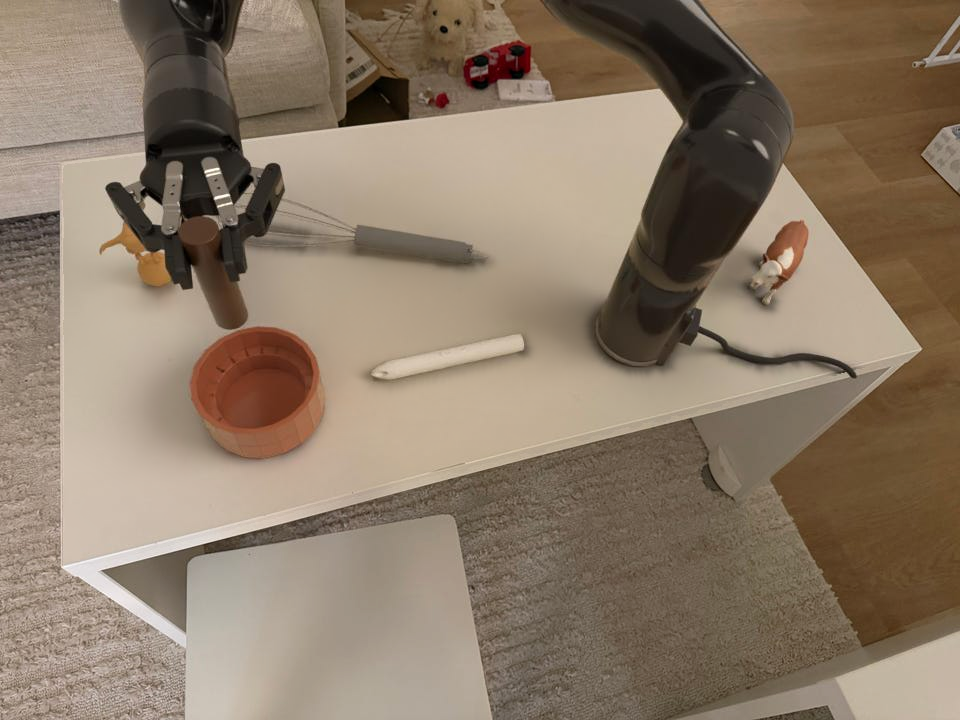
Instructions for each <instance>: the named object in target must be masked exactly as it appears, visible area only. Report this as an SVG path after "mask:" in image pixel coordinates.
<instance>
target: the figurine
mask: <svg viewBox="0 0 960 720" xmlns="http://www.w3.org/2000/svg"><path fill="white" fill-rule="evenodd" d="M116 245H121V246H123V247H125V250H126V252H127V253H128V254H130V255H134V258H135V260H136V261H138V262H137V267H136V269H137V270H136V271H137V274H138V276H139V277H140V279H141V280H142V281H143V282H144V283H145V284H147V285H149V286H153V287H161V286H165V285H167V284H169V283H170V282H171V281H172V280H171V278H170V276H169V274H168V272H167V270H166V267H165V253H164V252H160V251H158V252H154V253H152V252H148V251H147V250H146V249H145V247H144V246H143V245H142V244H141V242H140V241H139V240H138V238H137V237H136V236H135V235H134V233H133V232H132V231H131V230H130V228H129V227H128V226H127V224H126V223H125V222H124V221H123V222H122V229H121V232H120V233H119V234H118V235H117V236H115V237H113V238H112V239H109V240H108V241H106V242H104V243H103V244H101V246H100V247H99V249H98V252H99V255H100V256H102V255H103V254H104V252H105V251H106V249H108V248H112V247H113V246H116ZM144 252H147V253H145V254H143V255H142V253H144Z"/></svg>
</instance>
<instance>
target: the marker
mask: <svg viewBox="0 0 960 720" xmlns="http://www.w3.org/2000/svg"><path fill="white" fill-rule="evenodd" d="M524 350H525V341H524V338H523V335H522V334H521V333H515V334H510V335H505V336H501V337H496V338H490V339H486V340H482V341H478V342H477V341H476V342H473V343H468V344H463V345H459V346H452V347H450V348H444V349H438V350H435V351H429V352H425V353H420V354H416V355H411V356H407V357H402V358H397V359H392V360H387V361H385V362H383V363H381V364H379V365H378V366H377V367H375V368H374V369H373V370H372V372H371V373H370V376H373V377H374V378H378V379H381V380H396V379H399V378H400V379H401V378H405V377H409V376H414V375H418V374H422V373H423V374H424V373H428V372H431V371H436V370H441V369H445V368H446V369H447V368H450V367H456V366H459V365H463V364H469V363H473V362H477V361H481V360H482V361H483V360H486V359H491V358H495V357H500V356H505V355H509V354H513V353H519V352H522V351H524Z"/></svg>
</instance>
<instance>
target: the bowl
mask: <svg viewBox="0 0 960 720" xmlns="http://www.w3.org/2000/svg"><path fill="white" fill-rule="evenodd" d="M322 382H323V381H322V377H321V373H320V369H319V363H318V360H317V357H316V354H315V353H314V352H313V350H312V349H311V347H310V346H309V344H308V343H307V342H305V341H304V340H303V339H301V338H300V337H299V336H298V335H296V334H294V333H293V332H290V331H287V330H284V329H282V328H279V327H275V326H274V327H273V326H260V325H259V326H252V327H247V328H241V329H238V330H237V329H236V330H235V331H233V332H230V333H228V334H226V335H224V336H222V337H220V338H218V339H217V340H215V342H213V343H212V344H211V345H210V346H208V347H207V348H206V349H205V350H204V351H203V353H202V354H201V356H200V357H199V358H198V360H197V361H196V363H195V365H194V366H193V369H192V373H191V378H190V381H189V389H190V390H189V392H190V398H191V402H192V404H193V406H194V407H195V409H196V411H197V413H198V415H199V417H200V418H201V420H202V421H203V423H204V425H205V427H206V429H207V430H208V432H209V433H210V435H211V437H212V439H213V440H214V442H216V443H218V444H219V446H221V447H222V448H223V449H225V450H226V451H227V452H230V453H233V454H235V455H239V456H241V457H245V458H258V459H265V458H270V457H274V456H278V455H283V454H286V453H287V452H289V451H291V450H293V449H295V448H296V447H298V446H300V445H301V444H303V443H304V442H305V441H306V440H307V439H308V438H309V437H311V435H312V434H313V433H314V432H315V431H316V429H317V427H318V425H319V423H320V422H321V419H322V418H323V415H324V410H325V404H326V396H325V392H324V387H323V383H322Z"/></svg>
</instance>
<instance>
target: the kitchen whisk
mask: <svg viewBox="0 0 960 720" xmlns="http://www.w3.org/2000/svg"><path fill="white" fill-rule="evenodd" d="M252 194H253V192H244V194H243V195H252ZM281 202H286V203H289V204H291V205H294V206H297V207H301V208H303V209H305V210H308V211H310V212H313V213H317V214H319V215H321V216H323V217H325V218H327V219H328V218H329V219H330V220H332V221H334V222H337V223H339V224H342V225H344V226H346V227H348V228H350V229H348V228H345V227H343V226H339V225H337V224H336V225H335V224H332V223H329V222H325V221H323V220H319V219H315V218H312V217H308V216H304V215H300V214H295V213H291V212H288V211H284V210H280V209H279V210H278V209H277V210H276V213H275V215H279V216H283V217H287V218H293V219H297V220H301V221H305V222H309V223H313V224H316V225H321V226H325V227H328V228H333V229H337V230H339V231H340V230H341V231H344V232H349V233H351V234H354V235H339V234H323V233H311V232H302V231H292V230H283V229H275V228H270V227H269V229H268V230H270V231H267V233H266V234H274V235H285V236H297V237H312V238H313V237H314V238H335V239H336V238H339V239H348V240H342V241H332V242H321V243H300V244H299V243H298V244H291V243H290V244H288V243H287V244H286V243H269V242H262V241H258V240H257V241H256V240H252V239H249V238H247V239H246V240H245V242H244V244H251V245H256V246H262V247H263V246H264V247H278V248H281V247H282V248H284V247H286V248H287V247H289V248H290V247H291V248H293V247H294V248H295V247H297V248H298V247H313V246H325V245H335V244H342V243H351V242H353V245H354V246H355V247H360V248H367V249H373V250H379V251H385V252H391V253H396V254H404V255H408V256H409V255H410V256H415V257H421V258H427V259H434V260H439V261H445V262H452V263H459V264H463V263H466V264H471V262H472V259H478V260H485V259H489V255H488V254H487V253H485V252H482V251H478V250H474V244H470V243H469V244H468V243H467V242H466V241H460V240H455V239H447V238H441V237H437V236H436V237H435V236H430V235H423V234H418V233H417V234H416V233H411V232H405V231H401V230H394V229H389V228H381V227H376V226H369V225H363V224H358V223H357V224H356V225H355V227H353V226H351V225H349V224H348V223H345V222H343V221H341V220H339V219H337V218H335V217H333V216H331V215H329V214H326V213H324V212H321V211H319V210H317V209H314V208H312V207H309V206H306V205H304V204H301V203H298V202H296V201H292V200H289V199H286V198H283V197H282V199H281ZM246 207H247V205H234V208H235V209H244V210H245V209H246ZM278 212H279V213H278ZM282 213H284V214H282ZM215 218H216V219H217V222H218V223H217V224H218V227H219V228H220V229H223V226H222V225H221V224H222V222H221V219H220V216H219V215H218V216H215ZM220 223H221V224H220ZM273 231H274V232H273ZM275 231H277V232H275ZM283 232H284V233H283ZM473 252H475V253H479V254H482V255H485V256H486V257H475V256H473Z"/></svg>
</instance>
